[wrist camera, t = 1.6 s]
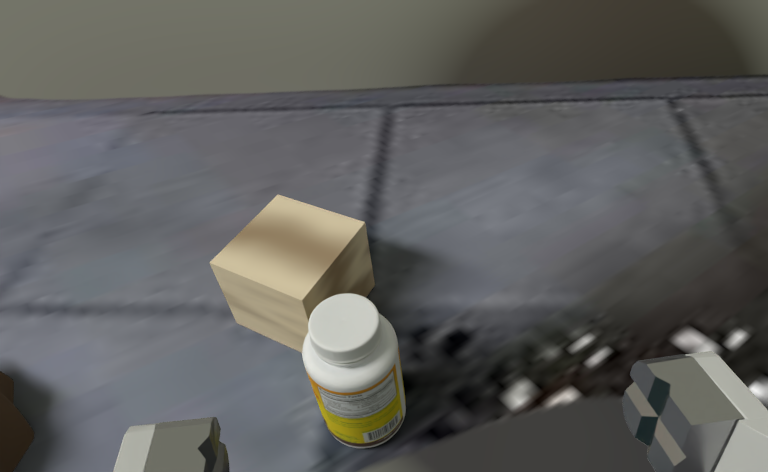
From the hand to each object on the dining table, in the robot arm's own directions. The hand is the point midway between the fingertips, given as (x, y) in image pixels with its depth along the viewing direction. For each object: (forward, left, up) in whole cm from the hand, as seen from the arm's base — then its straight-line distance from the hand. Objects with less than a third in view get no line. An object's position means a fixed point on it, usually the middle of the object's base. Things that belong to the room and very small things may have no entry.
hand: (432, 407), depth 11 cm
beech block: (-15, -19, -24) cm, 34 cm away
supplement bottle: (-9, -10, -25) cm, 28 cm away
